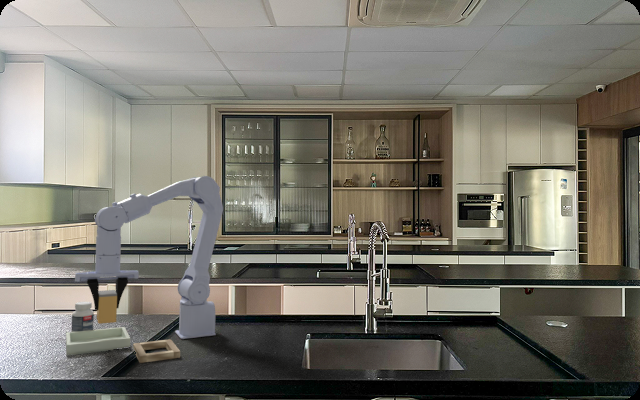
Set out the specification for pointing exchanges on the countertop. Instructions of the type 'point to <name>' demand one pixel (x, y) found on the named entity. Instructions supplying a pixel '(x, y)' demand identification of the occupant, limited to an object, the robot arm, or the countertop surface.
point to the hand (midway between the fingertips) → (106, 308)
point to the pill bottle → (82, 317)
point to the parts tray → (96, 340)
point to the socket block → (143, 357)
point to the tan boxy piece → (107, 306)
